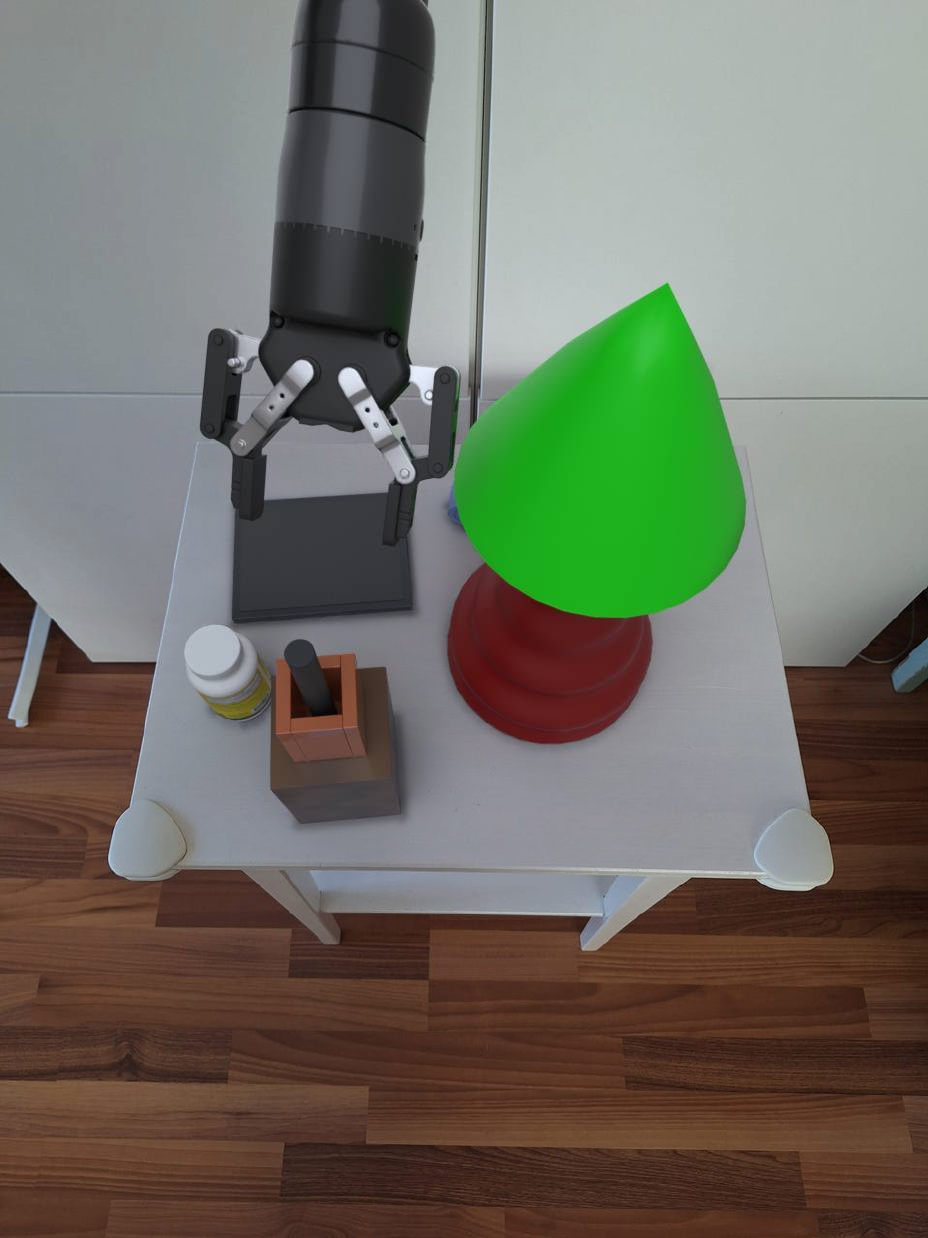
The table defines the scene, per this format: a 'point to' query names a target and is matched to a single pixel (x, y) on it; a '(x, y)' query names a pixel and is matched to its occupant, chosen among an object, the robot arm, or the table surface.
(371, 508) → the tablet
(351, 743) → the pen cup
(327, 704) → the stylus
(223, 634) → the pill bottle
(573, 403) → the table lamp
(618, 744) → the table surface
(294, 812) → the stand
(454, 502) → the decorative dice
